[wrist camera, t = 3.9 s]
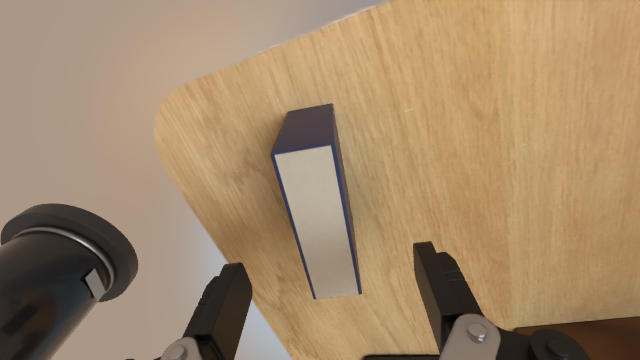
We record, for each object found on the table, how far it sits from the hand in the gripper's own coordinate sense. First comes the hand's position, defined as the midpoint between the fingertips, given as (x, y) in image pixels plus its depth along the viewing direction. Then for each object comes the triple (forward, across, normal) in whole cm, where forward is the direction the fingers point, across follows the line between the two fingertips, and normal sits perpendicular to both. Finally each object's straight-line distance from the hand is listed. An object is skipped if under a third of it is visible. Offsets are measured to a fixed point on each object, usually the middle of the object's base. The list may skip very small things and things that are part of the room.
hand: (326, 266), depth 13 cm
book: (+9, 0, 0) cm, 9 cm away
